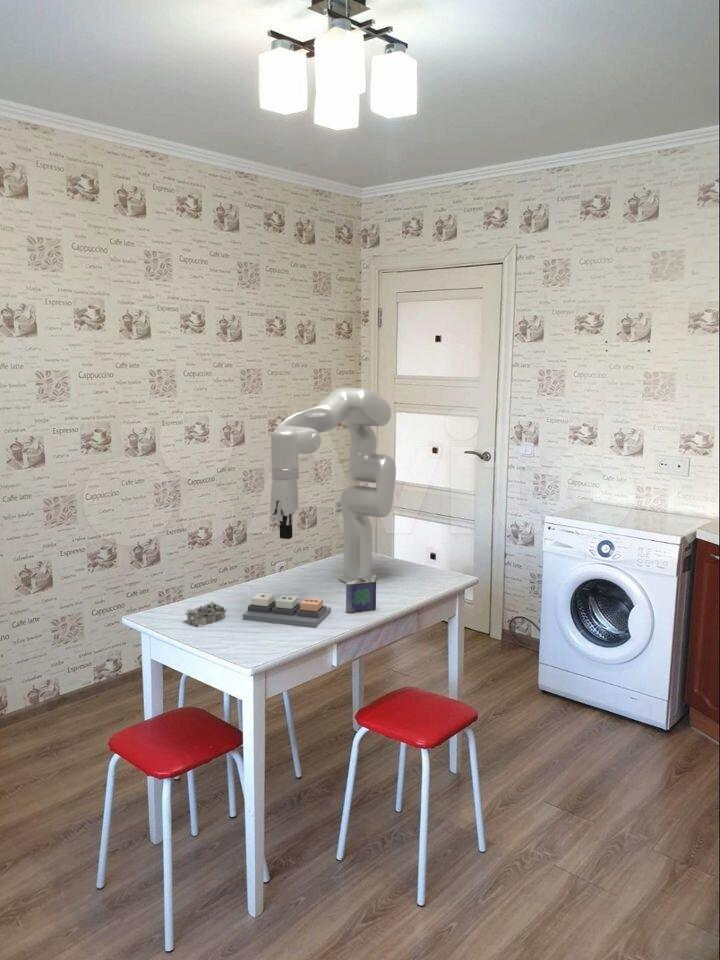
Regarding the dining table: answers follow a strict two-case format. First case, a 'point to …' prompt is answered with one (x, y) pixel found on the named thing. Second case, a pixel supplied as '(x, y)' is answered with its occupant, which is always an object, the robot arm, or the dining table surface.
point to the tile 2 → (287, 602)
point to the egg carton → (205, 614)
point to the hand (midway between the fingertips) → (286, 537)
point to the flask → (361, 595)
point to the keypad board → (286, 615)
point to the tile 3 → (311, 604)
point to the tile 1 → (262, 599)
